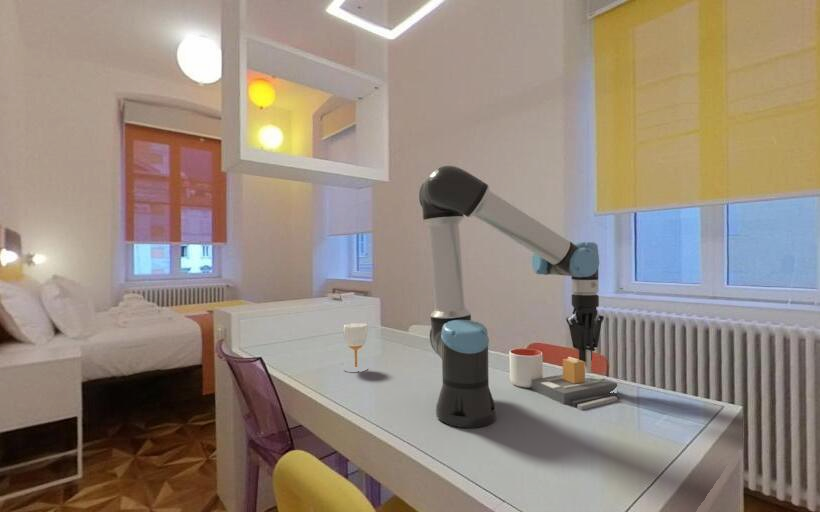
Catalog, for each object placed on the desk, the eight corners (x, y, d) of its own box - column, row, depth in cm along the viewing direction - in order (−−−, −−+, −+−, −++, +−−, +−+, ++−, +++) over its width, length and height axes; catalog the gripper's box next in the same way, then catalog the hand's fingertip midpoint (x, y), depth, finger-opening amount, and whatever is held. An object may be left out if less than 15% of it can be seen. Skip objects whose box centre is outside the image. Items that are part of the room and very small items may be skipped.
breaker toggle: (574, 383, 115) (573, 360, 115) (563, 379, 119) (562, 357, 119) (584, 381, 116) (584, 359, 116) (573, 377, 120) (572, 355, 120)
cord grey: (581, 410, 104) (580, 406, 104) (577, 408, 105) (577, 404, 105) (617, 400, 110) (617, 397, 110) (613, 399, 111) (613, 395, 111)
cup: (544, 389, 119) (544, 356, 119) (510, 388, 121) (510, 355, 121) (540, 379, 129) (540, 348, 129) (509, 378, 131) (508, 347, 131)
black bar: (574, 407, 105) (574, 402, 105) (570, 405, 107) (570, 401, 107) (618, 398, 112) (618, 393, 112) (613, 396, 113) (613, 392, 113)
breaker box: (564, 404, 108) (563, 392, 108) (532, 389, 120) (531, 378, 120) (617, 393, 115) (617, 382, 115) (582, 380, 127) (582, 370, 127)
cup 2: (371, 370, 142) (370, 326, 142) (346, 374, 138) (345, 328, 138) (364, 364, 150) (364, 322, 150) (341, 367, 147) (340, 324, 147)
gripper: (578, 295, 113) (578, 378, 113) (611, 293, 118) (612, 372, 118) (558, 293, 120) (559, 371, 120) (591, 291, 125) (591, 366, 125)
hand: (585, 371), depth 119 cm, fingers closed
